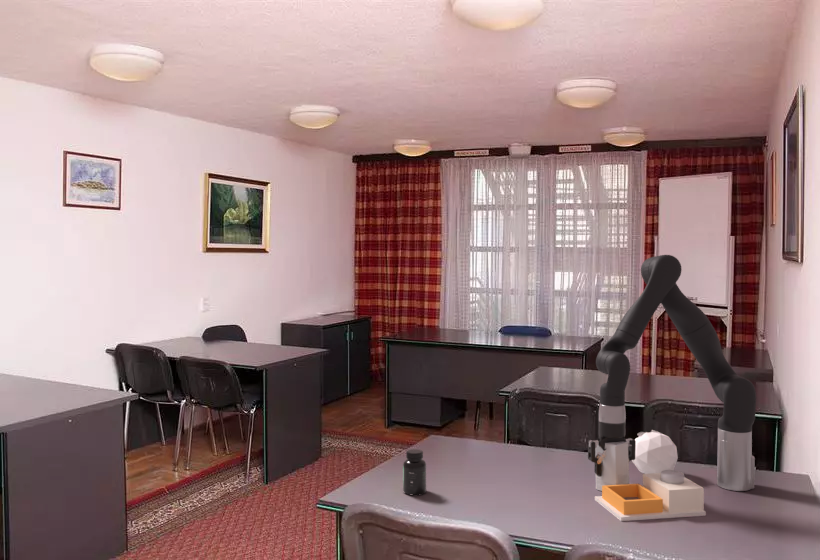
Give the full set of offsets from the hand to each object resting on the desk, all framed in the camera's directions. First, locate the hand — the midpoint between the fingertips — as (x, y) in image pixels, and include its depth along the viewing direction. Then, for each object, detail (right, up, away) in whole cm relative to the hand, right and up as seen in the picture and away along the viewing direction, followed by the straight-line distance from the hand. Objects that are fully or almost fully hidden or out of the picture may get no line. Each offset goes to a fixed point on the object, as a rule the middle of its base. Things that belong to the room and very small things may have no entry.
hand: (611, 475), depth 202 cm
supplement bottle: (-58, -5, 0) cm, 58 cm away
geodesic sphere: (+18, -5, +15) cm, 24 cm away
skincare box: (0, -5, 0) cm, 5 cm away
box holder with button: (+6, -5, -13) cm, 15 cm away
